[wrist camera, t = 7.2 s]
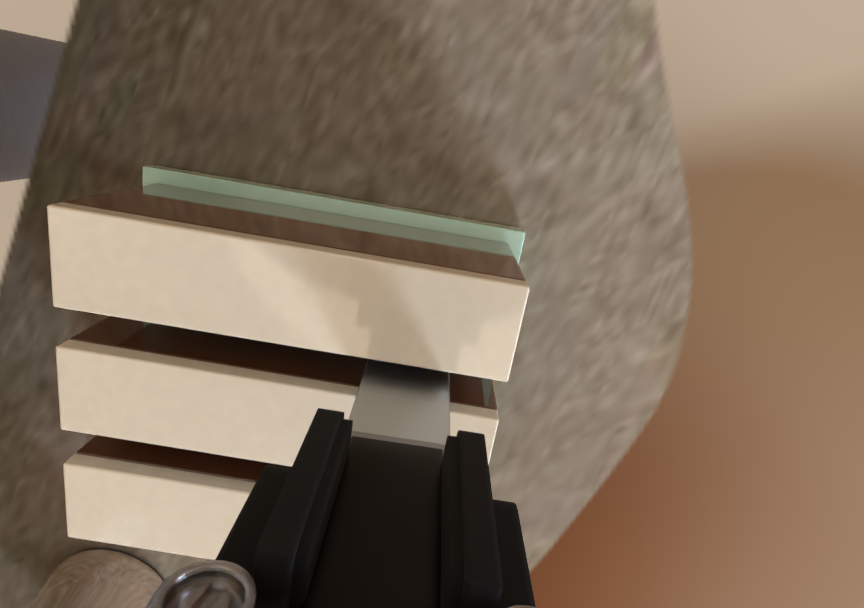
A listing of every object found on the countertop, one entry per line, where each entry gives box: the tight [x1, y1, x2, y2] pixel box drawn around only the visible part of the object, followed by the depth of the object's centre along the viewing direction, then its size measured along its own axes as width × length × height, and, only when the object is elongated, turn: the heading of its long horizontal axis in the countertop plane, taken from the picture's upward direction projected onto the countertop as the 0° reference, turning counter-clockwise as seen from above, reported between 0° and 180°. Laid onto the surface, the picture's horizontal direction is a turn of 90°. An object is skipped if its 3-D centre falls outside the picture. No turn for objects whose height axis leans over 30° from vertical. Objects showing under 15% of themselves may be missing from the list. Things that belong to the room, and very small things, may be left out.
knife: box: [300, 359, 450, 608], centre depth 13 cm, size 2×1×14 cm, turn 81°
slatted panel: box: [47, 165, 530, 560], centre depth 19 cm, size 14×12×6 cm
